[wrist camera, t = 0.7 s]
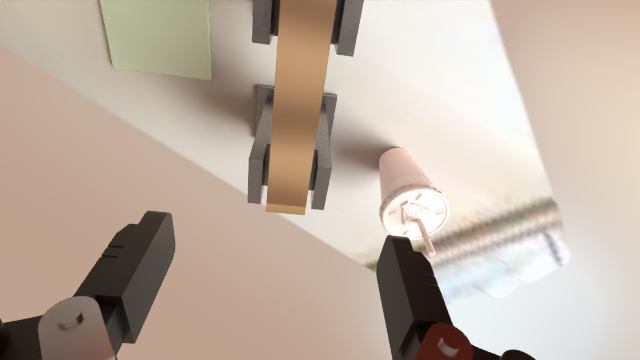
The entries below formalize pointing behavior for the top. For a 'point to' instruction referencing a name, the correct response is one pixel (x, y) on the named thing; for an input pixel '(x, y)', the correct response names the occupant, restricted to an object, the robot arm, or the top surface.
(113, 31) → the mat
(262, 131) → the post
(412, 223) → the smoothie
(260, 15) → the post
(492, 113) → the top surface
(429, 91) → the top surface
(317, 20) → the rail
